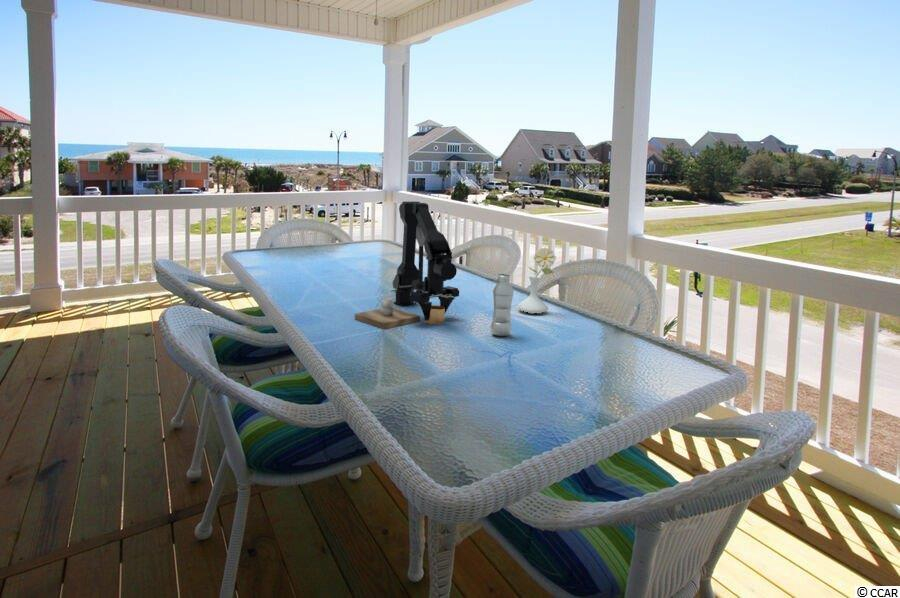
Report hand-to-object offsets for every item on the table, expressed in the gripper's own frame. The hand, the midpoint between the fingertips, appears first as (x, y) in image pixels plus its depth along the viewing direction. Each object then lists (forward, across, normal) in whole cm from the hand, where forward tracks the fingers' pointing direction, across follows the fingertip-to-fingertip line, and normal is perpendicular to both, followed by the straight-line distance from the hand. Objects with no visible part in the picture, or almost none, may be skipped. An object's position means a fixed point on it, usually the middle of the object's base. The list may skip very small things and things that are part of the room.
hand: (434, 318), depth 210 cm
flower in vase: (+1, -39, +14) cm, 41 cm away
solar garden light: (+1, -27, -37) cm, 46 cm away
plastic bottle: (+1, -5, +26) cm, 27 cm away
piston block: (+1, +12, -11) cm, 16 cm away
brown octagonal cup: (+1, 0, 0) cm, 1 cm away
